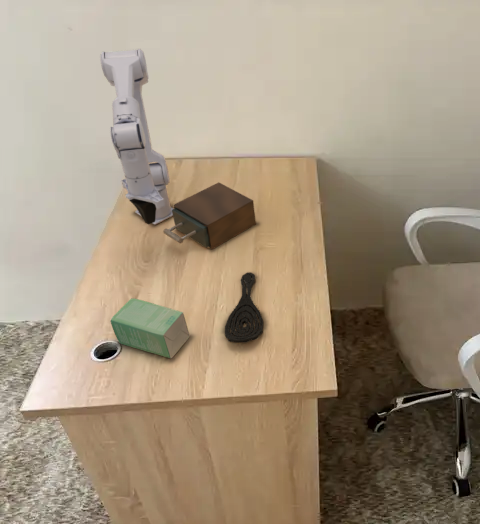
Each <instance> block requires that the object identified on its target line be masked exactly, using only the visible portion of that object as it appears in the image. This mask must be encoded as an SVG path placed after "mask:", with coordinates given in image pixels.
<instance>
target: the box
mask: <svg viewBox="0 0 480 524" xmlns="http://www.w3.org/2000/svg"><path fill="white" fill-rule="evenodd" d="M110 325H111V327H112V330H113V333H114V335H115V338H116V340H117V341H118V343H119V344H121V345H124V346H127V347H130V348H133V349H137V350H141V351H145V352H147V353H151V354H154V355H158V356H160V357H164V358H168V359H173V358H174V357H175V355H176V354H177V353H178V352H179V351H180V350H181V348H182V347H183V346H184V345H185V343H186V342H187V341H188V339H190V332H189V328H188V325H187V321H186V318H185V314H184V311H180V310H176V309H174V308H173V309H172V308H170V307H167V306H163V305H160V304H156V303H153V302H149V301H146V300H142V299H138V298H134V297H133V298H130V299H128V301H127V302H126V303H125V304H124V305H123V306H122V307H121V308H120V309H119V310H117V312H116V313H115V314H114V315H113V316H112V317H111V318H110Z"/></svg>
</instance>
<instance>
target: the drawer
mask: <svg viewBox="0 0 480 524" xmlns="http://www.w3.org/2000/svg"><path fill="white" fill-rule="evenodd" d="M172 213H173V216H172V217H173V221H174V225H173V226H171V227H170V228H164V229H163V234H165V235H166V236H168V237H169V238H171V239H172V240H174V241H175V242H176V243H178V244H182V243H183V242H184V240H186V239H188V238H190V239H192V240H193V241H195V242H196V243H198V244H200V245H201V246H202V247H204V248H206V249H208V248H209V246H210V242H209V237H208V232H207V226H205V225H204V224H201V223H199V222H198V221H197V220H195V219H194V218H192V217H190V216H189V215H187V214H185V213H184V212H182V211H179V210H178V209H176V208H175V209H174V208H173V210H172ZM174 230H177V231H179V232H180V233H182V234H184V236H182V237H181V236H179V235H178V234H176V233H174V232H173V231H174Z"/></svg>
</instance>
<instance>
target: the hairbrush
mask: <svg viewBox="0 0 480 524" xmlns="http://www.w3.org/2000/svg"><path fill="white" fill-rule="evenodd" d="M255 283H256V275H255V274H254V273H253V272H249V271H248V272H246V273H244V274H243V275H242V276H241V278H240V284H241V297H240V298H239V300H238V303H237V304H236V305H235V306H234V308H233V310H232V311H231V313H229V316H228V317H227V320H226V323H225V326H224V336H225V338H226V340H227V342H230V343H235V344H246V343H249V342H252V341H255V340H257V339H259V337H260V336H261V335H263V333H264V332H263V331H264V319H263V316H262V314H261V311H260V310H259V308H258V307H257V306H258V305H256V304H255V302H254V300H253V299H252V297H251V295H252V289H253V287H254V285H255ZM244 325H245V326H244Z"/></svg>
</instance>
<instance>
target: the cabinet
mask: <svg viewBox="0 0 480 524" xmlns="http://www.w3.org/2000/svg"><path fill="white" fill-rule="evenodd" d="M175 208H176V209H178V210H179V211H182V212H184V213H185V214H187V215H189V216H190V217H192V218H194V219H195V220H197V221H199V222H200V223H202V224H204V225H205V226H207V232H208V237H209V242H210V246H209V247H208V248H209V249H210V250H214V249H215V248H218V247H219V246H221V245H222V244H225V243H226V242H227V241H229V240H231V239H233V238H235V237H236V236H238V235H240V234H241V233H243V232H244V231H245V232H246V230H248V229H251V228H252V227H253V226H255V225H257V221H256V213H255V204H254V200H253V198H252V199H251V198H250V197H248V196H246V195H244V194H242V193H240V192H238V191H236V190H235V189H233V188H231V187H229V186H227V185H225V184H223V183H221V182H219V181H218V182H217V183H214V184H212V185H210V186H208V187H207V188H204V189H203V190H201V191H198V192H196V193H194V194H191V195H190V196H188V197H186V198H184V199H182V200H180V201H178V202H176V203H174V204H173V209H175Z"/></svg>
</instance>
